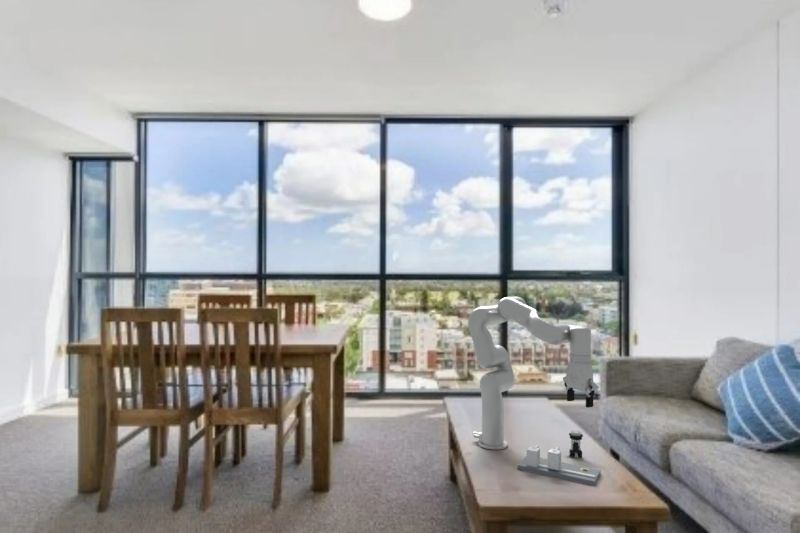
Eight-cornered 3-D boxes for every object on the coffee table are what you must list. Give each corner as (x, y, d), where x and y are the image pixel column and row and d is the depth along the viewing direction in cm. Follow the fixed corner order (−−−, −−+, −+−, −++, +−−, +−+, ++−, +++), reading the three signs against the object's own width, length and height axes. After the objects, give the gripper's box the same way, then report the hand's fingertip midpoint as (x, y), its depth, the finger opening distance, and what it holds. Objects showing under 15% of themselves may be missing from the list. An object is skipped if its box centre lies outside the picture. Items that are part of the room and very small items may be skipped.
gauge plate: (517, 468, 197) (517, 449, 197) (526, 458, 208) (527, 440, 208) (594, 485, 183) (594, 464, 183) (600, 473, 193) (600, 453, 193)
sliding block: (547, 468, 193) (547, 451, 193) (552, 462, 199) (552, 446, 199) (558, 470, 191) (558, 453, 191) (563, 464, 197) (563, 447, 197)
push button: (566, 458, 209) (567, 433, 209) (564, 453, 214) (564, 429, 214) (583, 459, 208) (584, 434, 208) (580, 454, 213) (581, 430, 213)
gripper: (556, 355, 203) (556, 399, 203) (589, 363, 187) (589, 410, 187) (571, 354, 206) (571, 397, 206) (605, 362, 190) (604, 408, 190)
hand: (579, 403), depth 197 cm, fingers open, 9 cm apart
